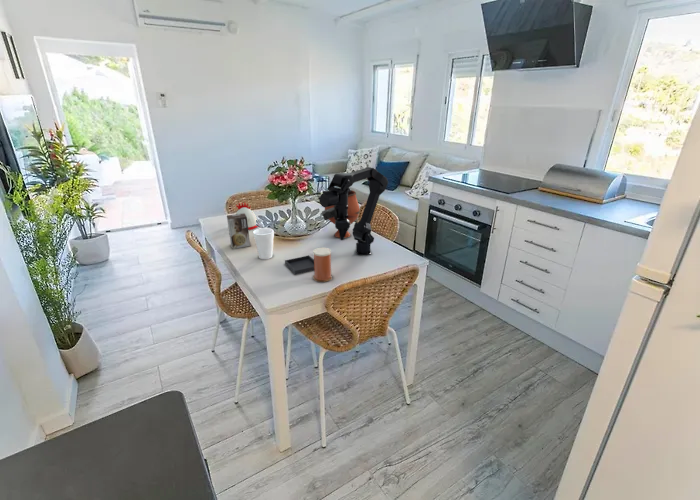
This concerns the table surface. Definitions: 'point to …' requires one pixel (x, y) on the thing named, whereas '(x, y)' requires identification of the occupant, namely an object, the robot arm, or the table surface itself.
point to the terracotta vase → (352, 211)
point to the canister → (322, 263)
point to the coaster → (322, 280)
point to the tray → (300, 264)
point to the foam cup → (264, 242)
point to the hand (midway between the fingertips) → (341, 236)
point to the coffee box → (238, 230)
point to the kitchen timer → (248, 215)
